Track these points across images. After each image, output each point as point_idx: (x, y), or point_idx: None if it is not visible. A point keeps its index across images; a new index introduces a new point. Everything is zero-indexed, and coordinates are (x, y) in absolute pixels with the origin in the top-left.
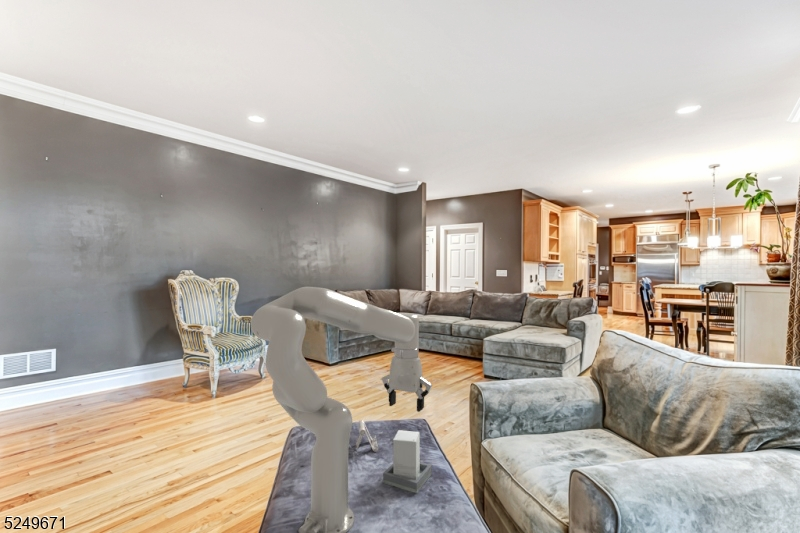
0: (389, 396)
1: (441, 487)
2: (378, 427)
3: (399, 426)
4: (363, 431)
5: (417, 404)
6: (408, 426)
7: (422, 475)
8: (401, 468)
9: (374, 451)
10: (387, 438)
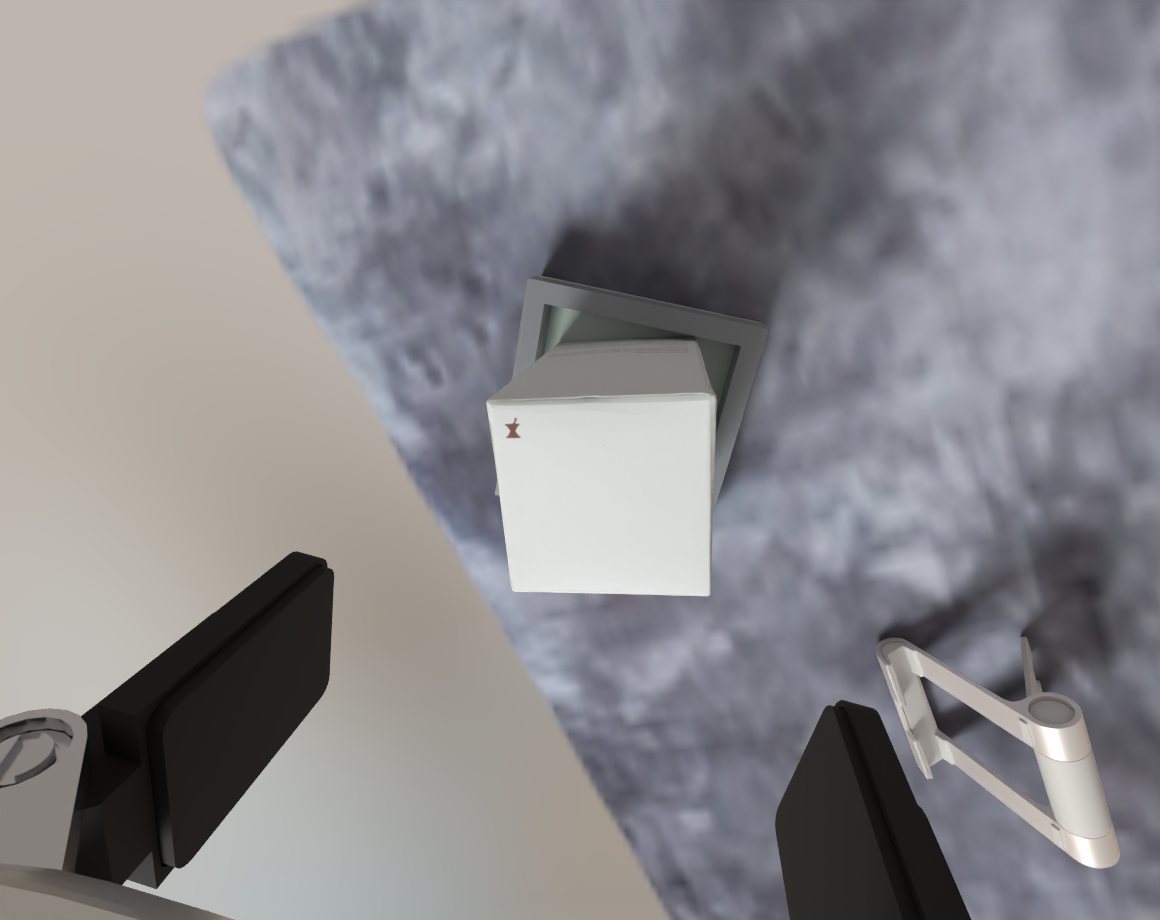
0: (950, 887)
1: (432, 369)
2: None
3: None
4: (1046, 718)
5: (232, 626)
6: (745, 905)
7: (517, 372)
8: (640, 348)
9: (894, 637)
10: None
